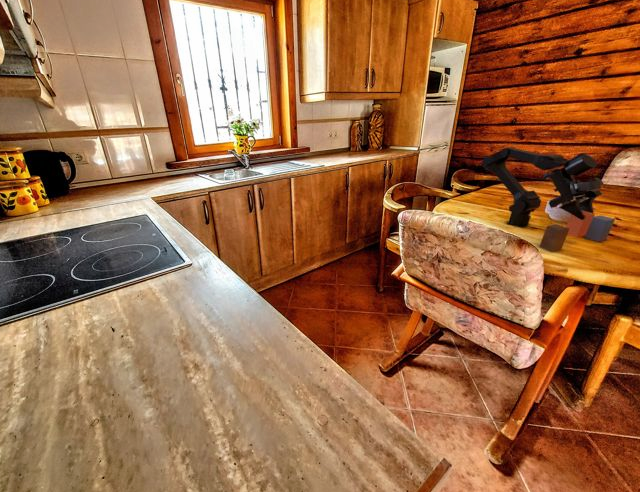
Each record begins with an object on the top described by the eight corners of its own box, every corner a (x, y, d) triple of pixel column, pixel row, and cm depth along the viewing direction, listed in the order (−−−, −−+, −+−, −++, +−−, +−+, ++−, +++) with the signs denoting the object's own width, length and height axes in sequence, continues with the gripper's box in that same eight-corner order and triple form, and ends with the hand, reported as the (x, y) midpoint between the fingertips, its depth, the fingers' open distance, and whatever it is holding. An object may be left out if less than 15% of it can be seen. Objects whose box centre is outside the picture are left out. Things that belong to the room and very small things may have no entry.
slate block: (583, 237, 113) (592, 216, 109) (591, 235, 114) (600, 215, 110) (597, 241, 109) (607, 220, 105) (605, 240, 110) (615, 219, 106)
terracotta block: (563, 232, 109) (572, 211, 105) (571, 230, 110) (580, 209, 106) (576, 237, 105) (586, 215, 101) (585, 235, 106) (595, 213, 102)
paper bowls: (551, 224, 126) (557, 207, 123) (537, 213, 139) (542, 197, 136) (594, 227, 121) (602, 210, 118) (575, 215, 134) (582, 199, 131)
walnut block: (539, 246, 108) (546, 225, 104) (548, 245, 108) (556, 224, 105) (551, 252, 104) (560, 230, 100) (561, 250, 104) (569, 228, 101)
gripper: (569, 173, 99) (594, 212, 94) (606, 168, 103) (632, 205, 98) (538, 189, 109) (560, 225, 104) (573, 184, 113) (596, 218, 108)
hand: (587, 218), depth 103 cm, fingers closed on terracotta block, 4 cm apart
